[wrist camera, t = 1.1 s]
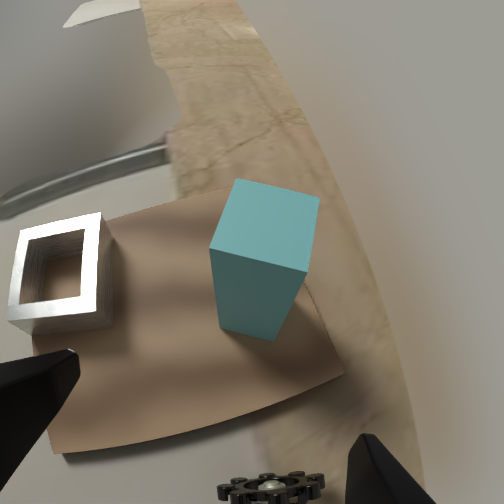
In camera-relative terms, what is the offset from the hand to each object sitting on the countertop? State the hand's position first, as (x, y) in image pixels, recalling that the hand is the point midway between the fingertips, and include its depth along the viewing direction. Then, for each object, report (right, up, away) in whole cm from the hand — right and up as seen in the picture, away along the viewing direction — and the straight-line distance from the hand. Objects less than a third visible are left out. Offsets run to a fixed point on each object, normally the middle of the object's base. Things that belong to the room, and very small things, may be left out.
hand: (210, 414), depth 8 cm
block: (+1, 0, +15) cm, 15 cm away
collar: (-14, +2, +15) cm, 20 cm away
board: (-6, 0, +15) cm, 16 cm away
